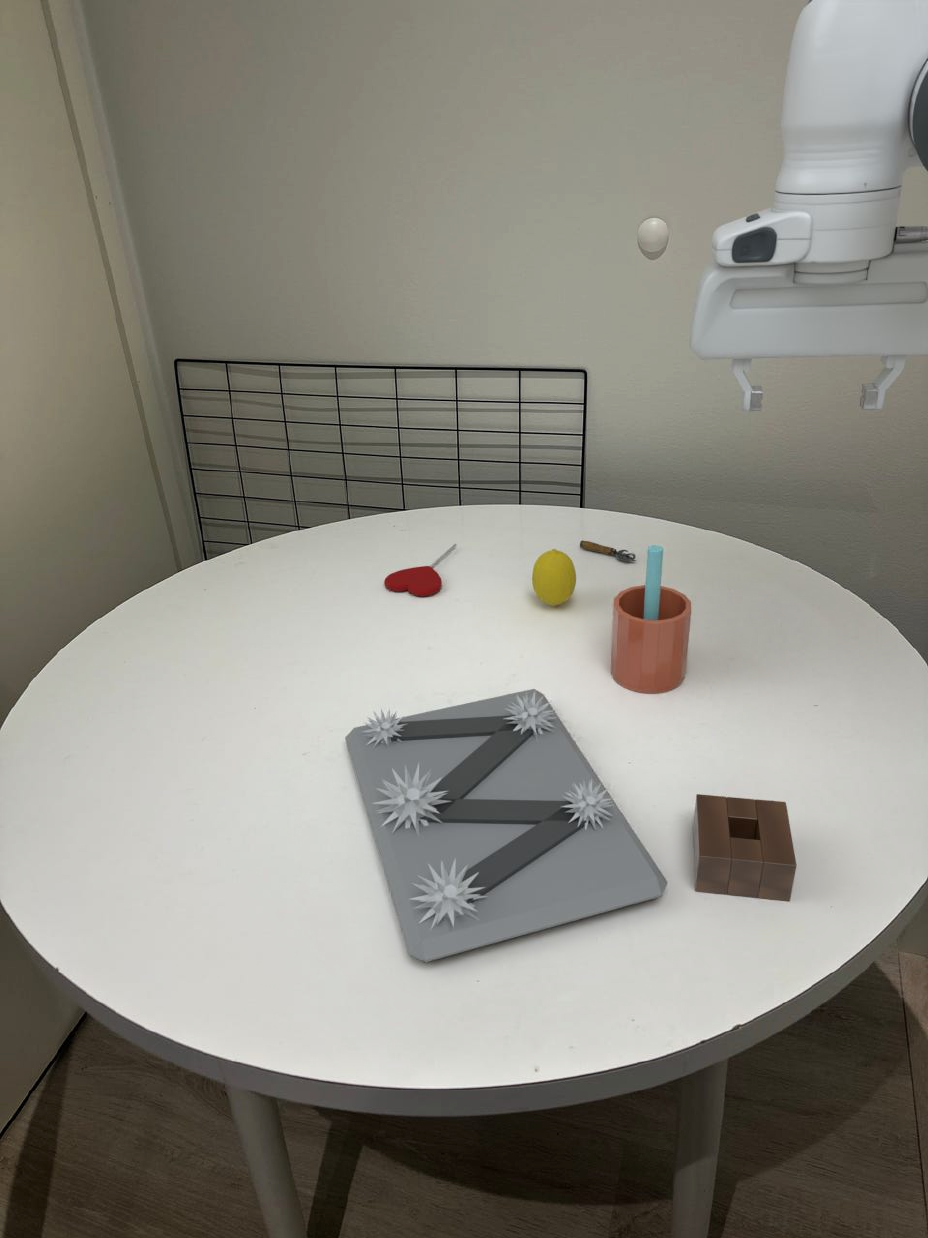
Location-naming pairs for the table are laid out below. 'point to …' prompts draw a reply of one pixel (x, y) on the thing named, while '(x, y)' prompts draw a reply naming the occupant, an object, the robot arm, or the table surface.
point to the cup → (650, 641)
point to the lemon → (554, 577)
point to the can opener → (607, 550)
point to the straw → (653, 582)
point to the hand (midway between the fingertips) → (810, 408)
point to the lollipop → (416, 579)
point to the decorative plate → (493, 824)
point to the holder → (743, 847)
